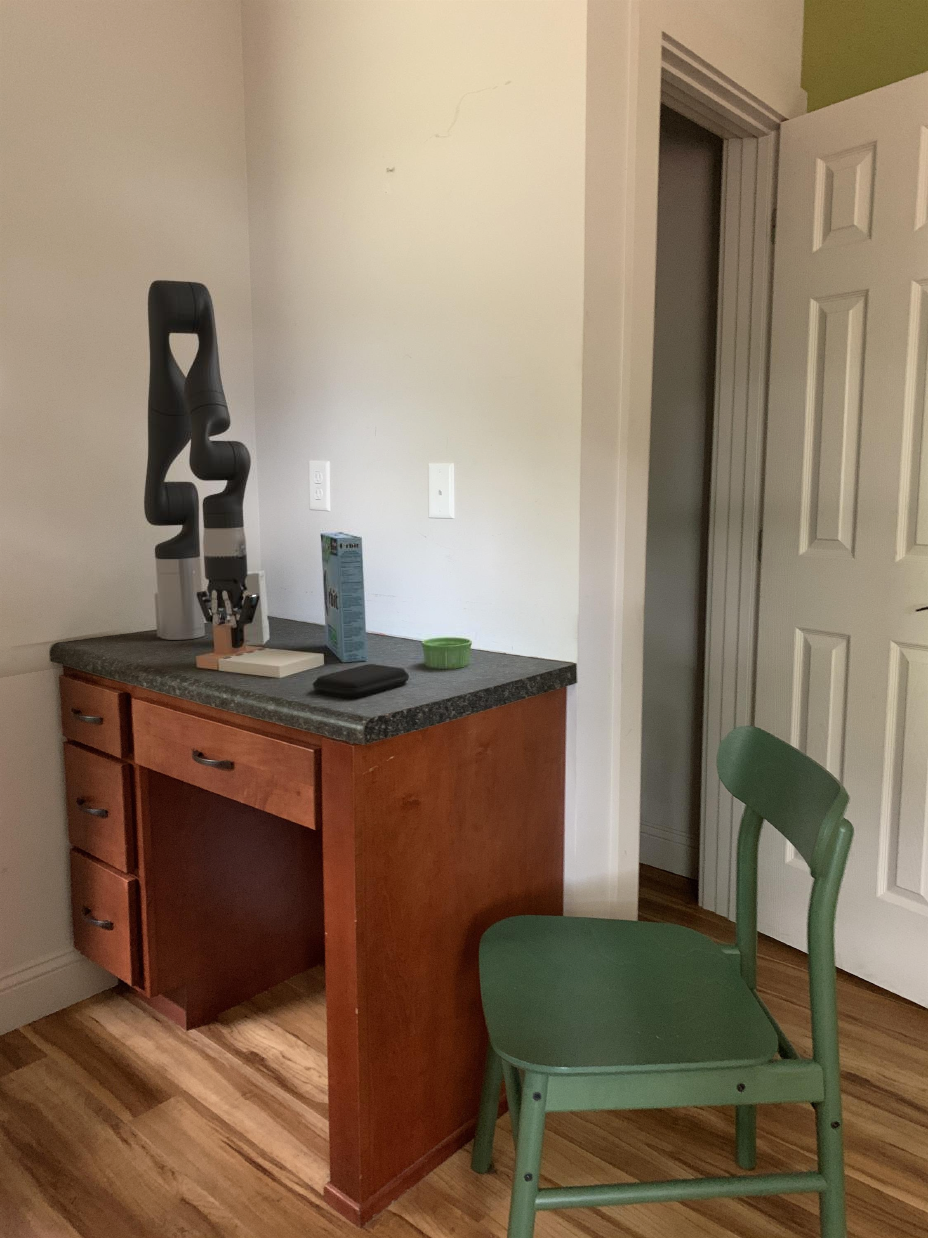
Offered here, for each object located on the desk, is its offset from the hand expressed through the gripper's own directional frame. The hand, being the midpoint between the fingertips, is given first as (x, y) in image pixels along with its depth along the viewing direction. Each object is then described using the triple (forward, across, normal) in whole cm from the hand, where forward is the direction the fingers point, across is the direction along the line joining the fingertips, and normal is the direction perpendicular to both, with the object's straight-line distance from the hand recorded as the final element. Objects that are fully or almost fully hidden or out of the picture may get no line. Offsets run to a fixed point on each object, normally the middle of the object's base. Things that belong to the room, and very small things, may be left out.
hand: (230, 646), depth 166 cm
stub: (+3, 0, 0) cm, 3 cm away
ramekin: (+4, +37, +16) cm, 40 cm away
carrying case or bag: (+4, +33, -6) cm, 34 cm away
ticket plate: (+3, +10, 0) cm, 10 cm away
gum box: (+3, +13, +17) cm, 22 cm away
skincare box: (+3, -11, +18) cm, 21 cm away
